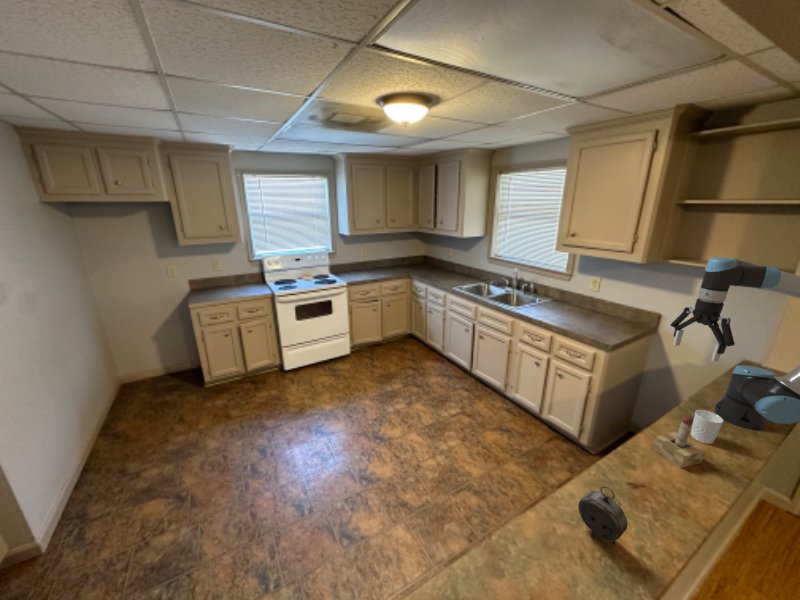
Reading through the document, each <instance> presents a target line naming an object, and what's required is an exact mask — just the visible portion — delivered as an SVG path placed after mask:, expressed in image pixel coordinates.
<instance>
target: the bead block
mask: <svg viewBox="0 0 800 600" xmlns="http://www.w3.org/2000/svg"><path fill="white" fill-rule="evenodd" d="M677 434H678V431H677V432H676V431H674V432H669V433H665V434H661V435H658V436H655V437H654V440H653V444H652V449H653V450H655V451H656V452H657V453H658V454H660V456H663V457H664V458H665V459H667V460H668V461H670V462H671V463H672V464H674V465H675V466H676V467H678V468H679V469H683V468H687V467H690V466H693V465H696V464H697V465H698V464H701V463H703V459H704V456H705V453H706V450H705V449H704V448H702V447H701V446H699V445H698V444H696V443H694V442H693V441H691V440H689V439H688V438H687V441H686V444H685V447H684V448H683V449H681V448H680V447H678V446H677V445H675V444H674V443H675V440H676V437H677Z"/></svg>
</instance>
